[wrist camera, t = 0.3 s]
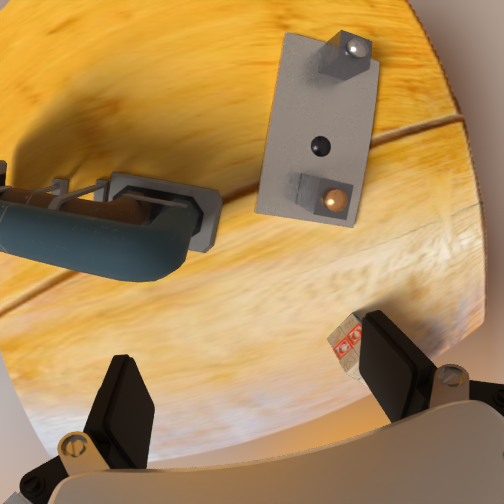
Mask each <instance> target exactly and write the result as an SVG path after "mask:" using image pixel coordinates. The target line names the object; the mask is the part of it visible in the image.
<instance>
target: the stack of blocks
mask: <svg viewBox="0 0 504 504" xmlns="http://www.w3.org/2000/svg"><path fill="white" fill-rule="evenodd" d="M361 331H362V321H361V320H360V319H359V318H357V317H356V316H355V315H354V314H353V313H352V314H351V315H350V316H349V317H348V318H347V319H346V320H345V321H344V322H343V323H342V324H341V325H340V326H339V327H338V328H337V329H336V330H335V331H334V332H333V333H332V334H331V335H330V336H329V337H328V338H327V340H328V342H329V343H330V345H331V347H332V348H333V351H334V353H335V354H336V356H337V358H338V359H339V362H340V364H341V366H342V368H343V369H344V371H345V373H346V374H347V375H349V376H351V377H352V378H354V379H356V380H357V381H359V382H360V383H362V384H364V385H366V386H367V384H366V382H365V381H364V379H363V378H362V376H361V375H360V372H359V357H360V345H361Z"/></svg>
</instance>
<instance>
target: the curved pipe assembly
mask: <svg viewBox="0 0 504 504" xmlns="http://www.w3.org/2000/svg"><path fill="white" fill-rule="evenodd" d="M6 169H7V163H6V162H5V161H4V160H0V251H1V252H4V253H8V254H12V255H15V256H19V257H23V258H27V259H30V260H34V261H38V262H42V263H46V264H50V265H54V266H58V267H62V268H66V269H71V270H75V271H79V272H83V273H88V274H92V275H97V276H101V277H106V278H110V279H115V280H120V281H129V282H150V281H156V280H159V279H161V278H163V277H165V276H167V275H169V274H170V273H172V272H173V271H175V270H177V269H178V268H179V267H180V266H181V265H182V264H183V263H184V262H185V259H186V255H187V252H188V250H191V251H196V252H202V253H206V252H207V251H208V250H209V249H211V248H212V247H213V246H214V241H215V237H216V232H217V227H218V223H219V218H220V213H221V209H222V204H223V200H222V198H221V196H220V193H219V191H217V190H212V189H207V188H202V187H197V186H192V185H187V184H181V183H176V182H170V181H165V180H159V179H153V178H147V177H141V176H135V175H129V174H123V173H116V172H112V173H111V180H110V186H109V193H108V201H107V202H106V196H107V189H108V181H105V180H98V179H97V180H96V184H95V185H93V186H89V187H86V188H83V189H80V190H76V191H73V192H70V193H67V190H68V182H69V181H68V180H62V179H55V178H54V179H53V180H52V186H49V187H45V188H41V189H36V190H32V191H29V190H23V189H16V188H12V187H11V186H5V180H6ZM50 191H51V194H48V193H45V192H50ZM91 192H94V199H93V201H91V200H85V199H79V198H77V197H80V196H82V195H85V194H88V193H91Z"/></svg>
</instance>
